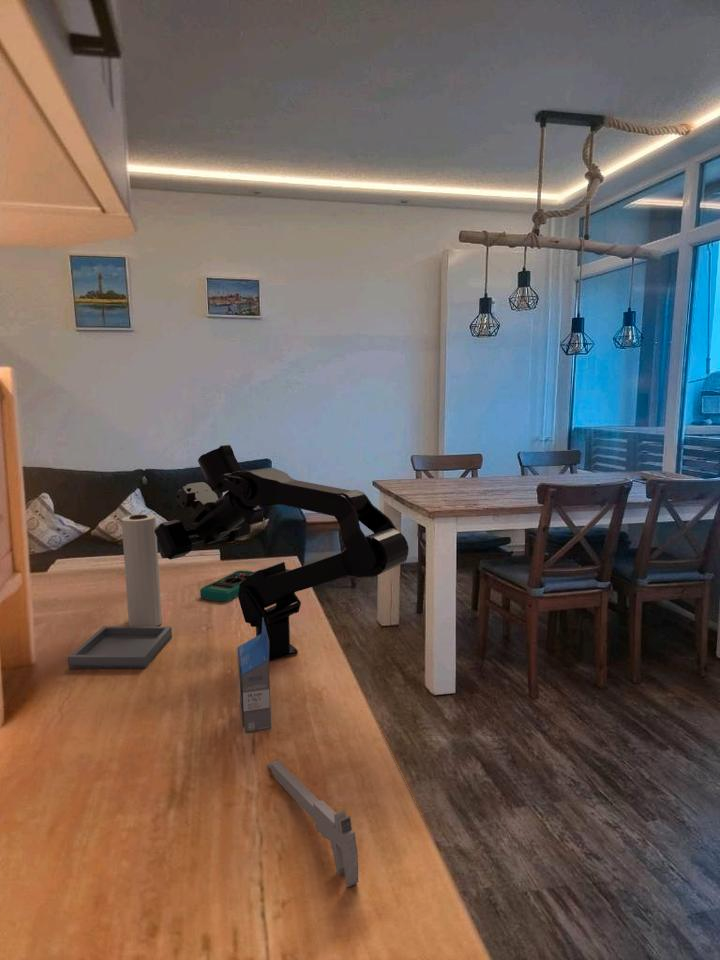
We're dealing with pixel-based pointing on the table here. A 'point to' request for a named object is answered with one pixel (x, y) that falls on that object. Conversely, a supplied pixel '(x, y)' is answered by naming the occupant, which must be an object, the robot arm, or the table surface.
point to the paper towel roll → (141, 570)
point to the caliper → (324, 822)
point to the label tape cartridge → (255, 683)
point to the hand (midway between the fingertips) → (182, 550)
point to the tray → (120, 647)
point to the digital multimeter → (224, 587)
